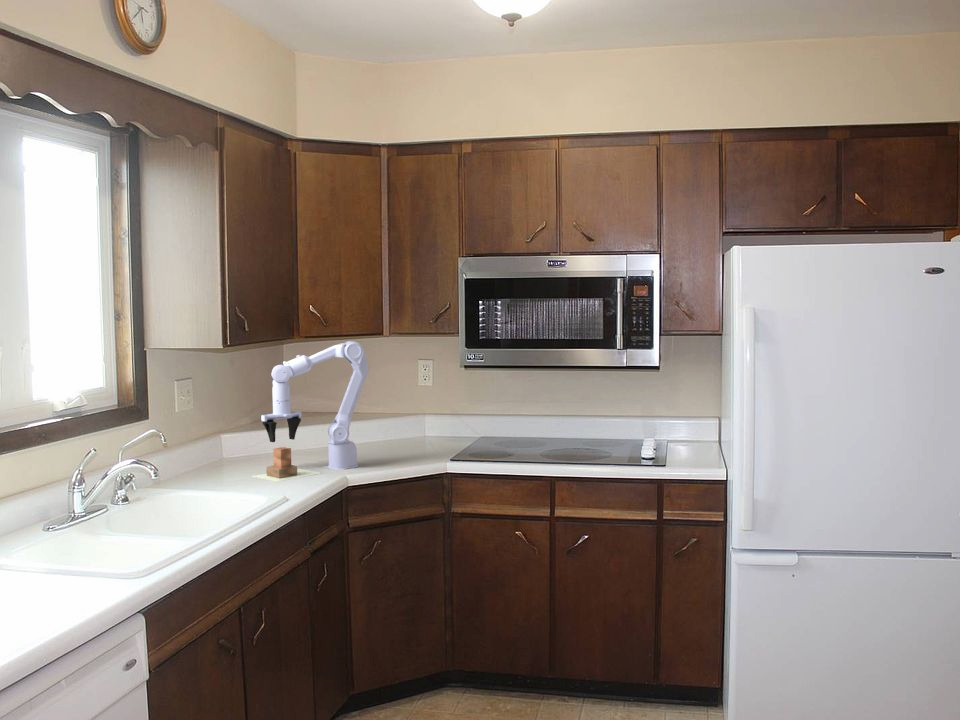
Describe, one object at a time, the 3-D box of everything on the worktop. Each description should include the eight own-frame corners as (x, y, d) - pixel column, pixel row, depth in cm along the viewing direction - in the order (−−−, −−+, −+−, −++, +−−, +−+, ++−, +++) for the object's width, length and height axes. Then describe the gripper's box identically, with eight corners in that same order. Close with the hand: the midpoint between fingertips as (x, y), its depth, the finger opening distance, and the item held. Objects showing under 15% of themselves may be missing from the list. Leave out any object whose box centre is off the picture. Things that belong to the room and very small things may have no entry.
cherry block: (284, 465, 272) (283, 446, 272) (291, 466, 270) (291, 448, 269) (273, 466, 269) (273, 448, 269) (281, 468, 267) (280, 449, 266)
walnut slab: (284, 472, 275) (284, 463, 275) (297, 475, 270) (297, 466, 270) (266, 475, 270) (266, 466, 270) (279, 478, 265) (279, 469, 265)
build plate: (297, 469, 283) (297, 468, 283) (322, 474, 274) (322, 473, 274) (251, 477, 270) (251, 476, 269) (276, 482, 260) (276, 481, 260)
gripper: (269, 403, 271) (270, 444, 271) (306, 399, 281) (307, 439, 282) (257, 401, 275) (258, 442, 276) (294, 398, 286) (295, 437, 287)
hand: (282, 440), depth 279 cm, fingers open, 7 cm apart
